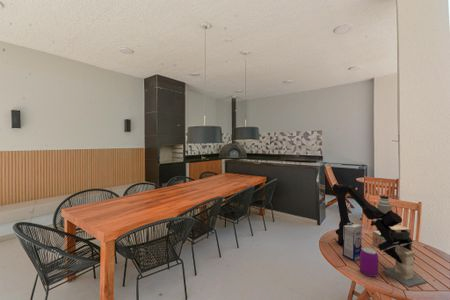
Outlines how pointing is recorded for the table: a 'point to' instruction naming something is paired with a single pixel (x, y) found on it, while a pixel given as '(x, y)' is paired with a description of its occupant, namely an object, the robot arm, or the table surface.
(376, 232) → the stack of blocks
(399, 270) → the birch block
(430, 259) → the table surface
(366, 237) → the table surface
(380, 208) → the thermos bottle
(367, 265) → the beverage can
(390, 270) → the charcoal board
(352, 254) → the milk carton
